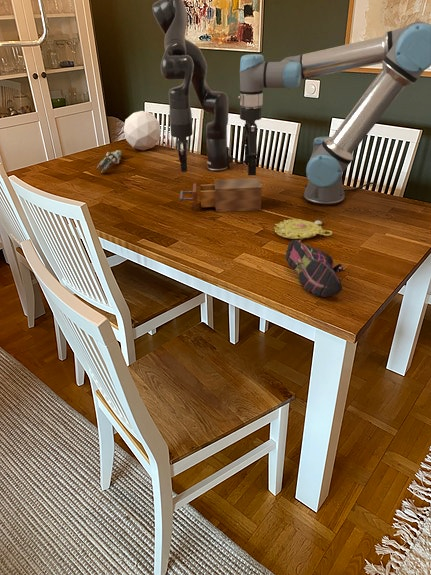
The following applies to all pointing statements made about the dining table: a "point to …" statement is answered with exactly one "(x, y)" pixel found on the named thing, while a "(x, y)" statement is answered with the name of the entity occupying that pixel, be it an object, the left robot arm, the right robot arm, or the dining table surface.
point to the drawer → (202, 195)
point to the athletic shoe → (314, 269)
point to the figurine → (110, 160)
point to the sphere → (142, 130)
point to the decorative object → (300, 229)
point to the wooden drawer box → (238, 194)
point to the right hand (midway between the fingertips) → (250, 169)
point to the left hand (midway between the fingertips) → (184, 171)
